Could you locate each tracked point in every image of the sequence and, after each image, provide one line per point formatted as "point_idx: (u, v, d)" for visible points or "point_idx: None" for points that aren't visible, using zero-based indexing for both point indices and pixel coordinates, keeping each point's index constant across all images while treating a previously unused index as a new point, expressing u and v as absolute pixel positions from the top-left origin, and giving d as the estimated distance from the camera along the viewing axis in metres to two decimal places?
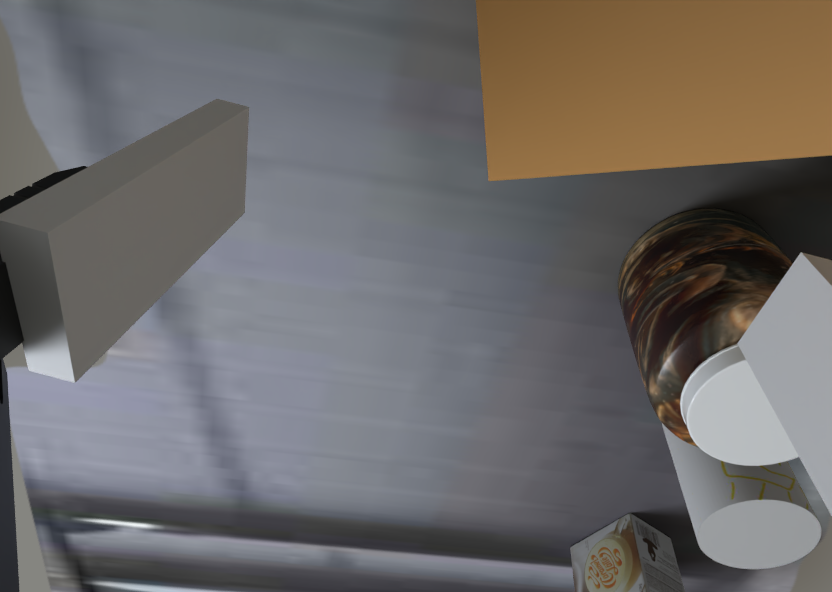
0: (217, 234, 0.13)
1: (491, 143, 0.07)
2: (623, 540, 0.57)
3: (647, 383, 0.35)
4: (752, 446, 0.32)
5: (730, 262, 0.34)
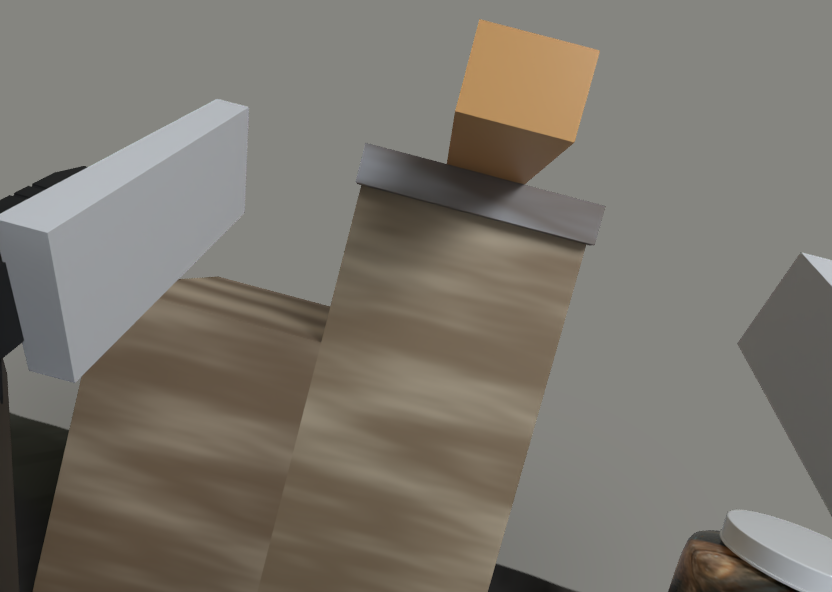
0: (217, 234, 0.13)
1: None
2: None
3: None
4: None
5: None
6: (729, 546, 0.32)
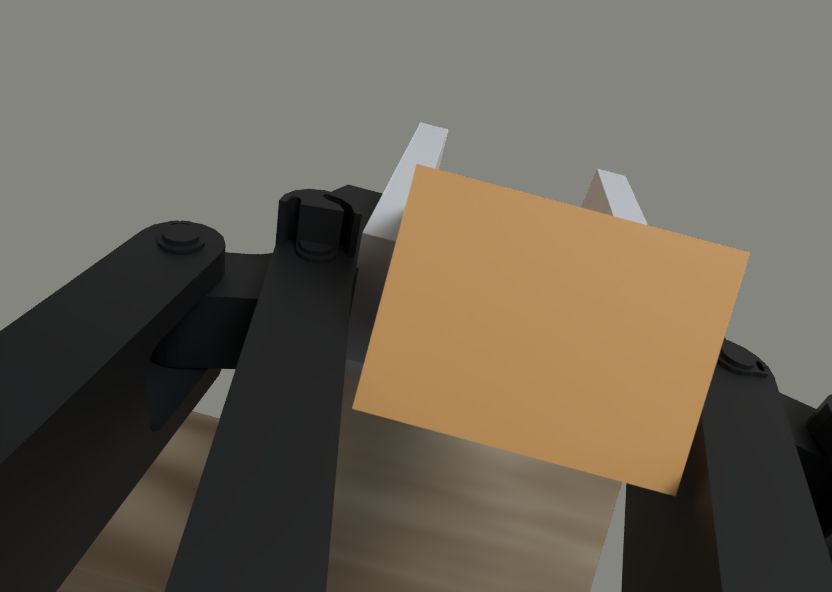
0: None
1: None
2: None
3: None
4: None
5: None
6: None
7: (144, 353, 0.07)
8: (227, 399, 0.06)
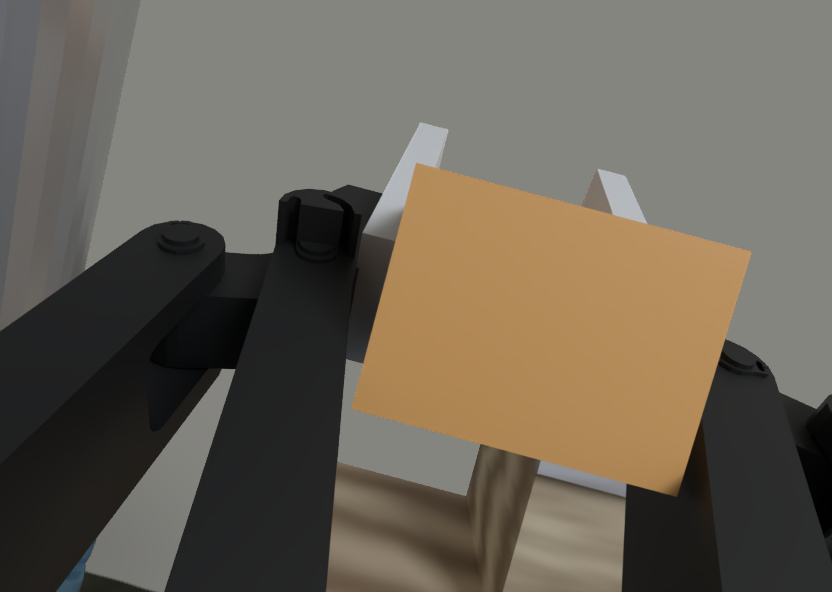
0: None
1: None
2: None
3: None
4: None
5: None
6: None
7: (144, 354, 0.07)
8: (227, 399, 0.06)
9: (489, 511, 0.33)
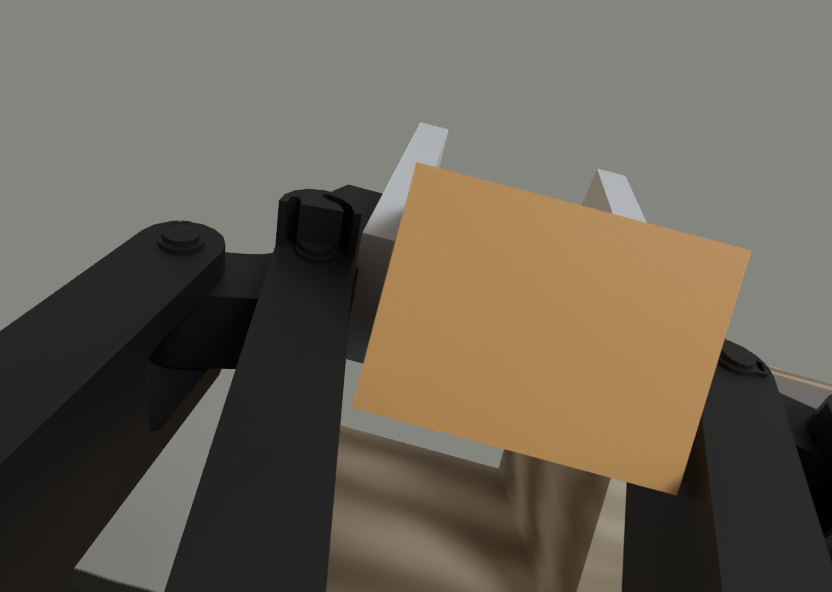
0: None
1: None
2: None
3: None
4: None
5: None
6: None
7: (145, 354, 0.07)
8: (227, 399, 0.06)
9: (540, 480, 0.25)
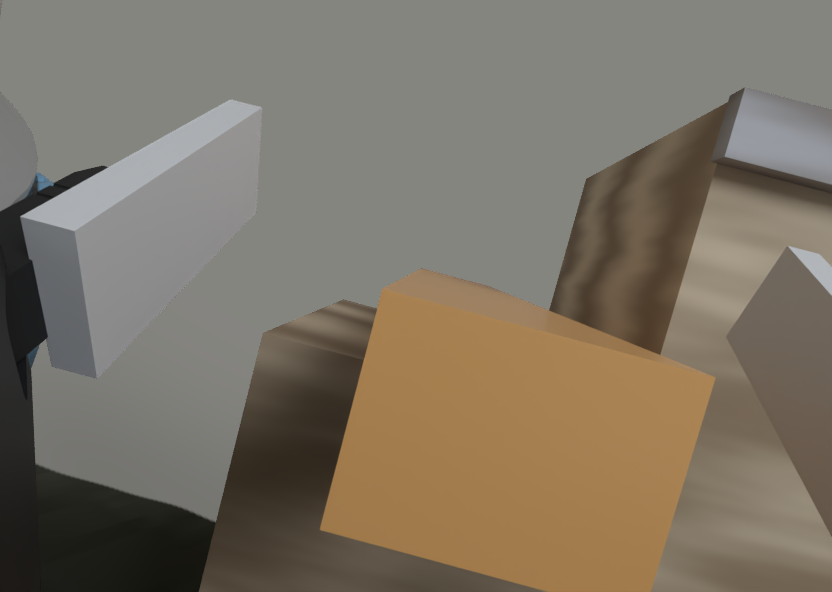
0: (230, 233, 0.13)
1: (670, 362, 0.07)
2: None
3: None
4: None
5: None
6: None
7: None
8: None
9: (595, 317, 0.24)
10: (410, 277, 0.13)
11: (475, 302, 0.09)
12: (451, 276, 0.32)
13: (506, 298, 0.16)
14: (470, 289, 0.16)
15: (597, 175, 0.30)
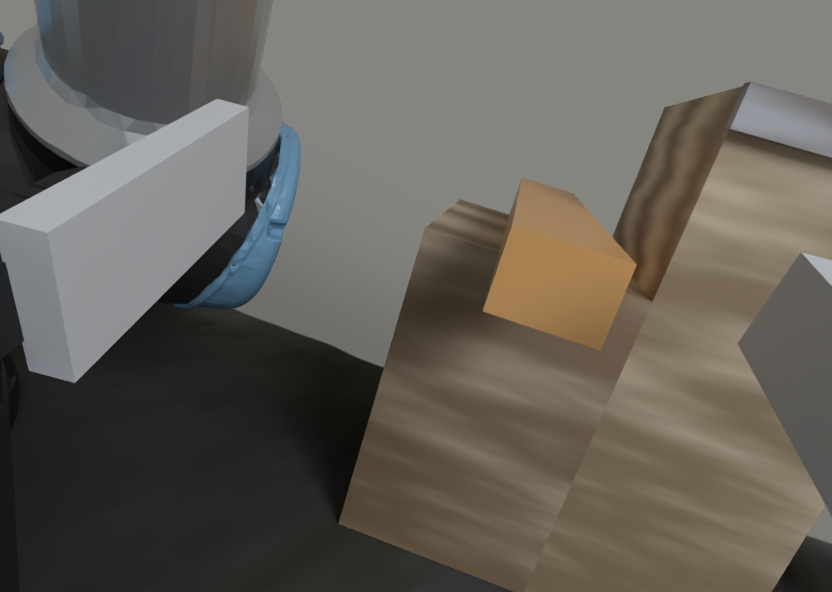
0: (217, 234, 0.13)
1: (620, 258, 0.17)
2: None
3: None
4: None
5: None
6: None
7: None
8: None
9: (647, 225, 0.33)
10: (518, 205, 0.23)
11: (550, 226, 0.20)
12: (545, 185, 0.42)
13: (575, 214, 0.27)
14: (553, 209, 0.26)
15: (671, 107, 0.37)
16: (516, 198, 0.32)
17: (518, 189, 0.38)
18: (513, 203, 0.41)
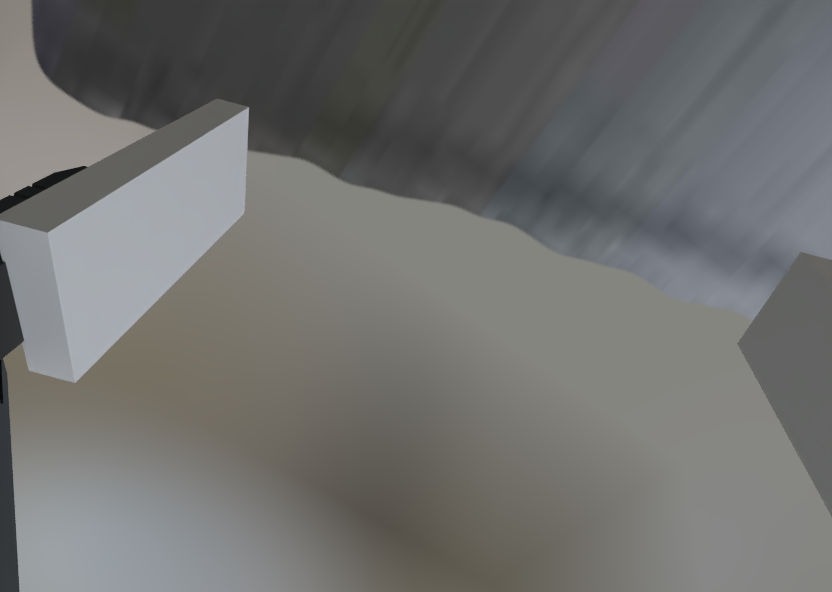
0: (217, 234, 0.13)
1: None
2: None
3: None
4: None
5: None
6: None
7: None
8: None
9: None
10: None
11: None
12: None
13: None
14: None
15: None
16: None
17: None
18: None
